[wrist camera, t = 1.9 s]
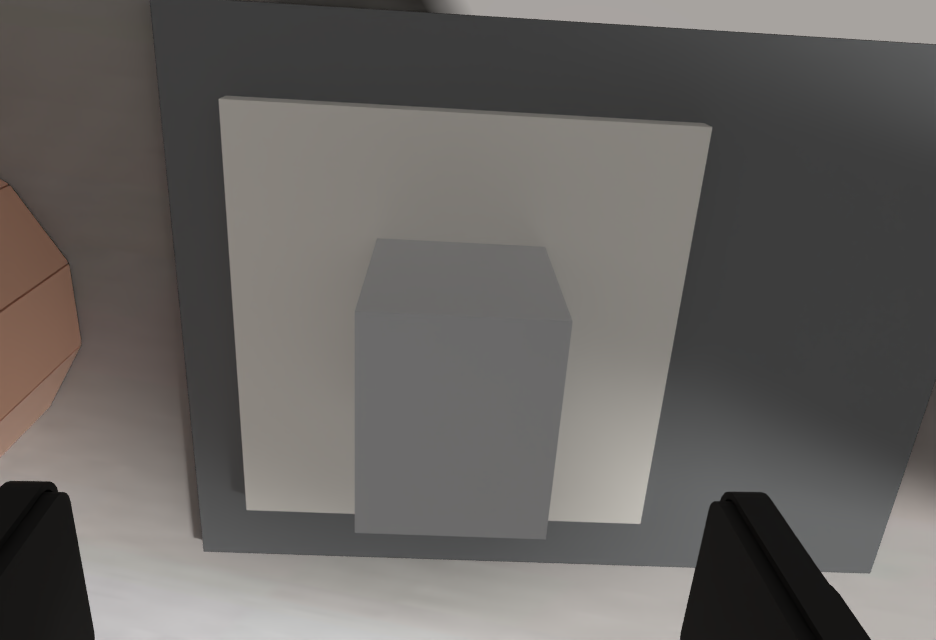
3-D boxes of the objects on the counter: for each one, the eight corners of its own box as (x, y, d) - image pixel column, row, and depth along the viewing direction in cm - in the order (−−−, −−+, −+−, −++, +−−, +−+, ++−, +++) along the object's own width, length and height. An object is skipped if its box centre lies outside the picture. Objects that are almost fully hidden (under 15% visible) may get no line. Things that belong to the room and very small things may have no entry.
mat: (1034, 50, 18) (1046, 51, 17) (863, 564, 23) (870, 573, 23) (156, -5, 17) (149, -5, 16) (207, 542, 23) (203, 551, 22)
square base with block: (704, 123, 18) (795, 170, 13) (635, 510, 22) (685, 650, 17) (225, 95, 17) (141, 133, 12) (251, 496, 22) (195, 636, 17)
